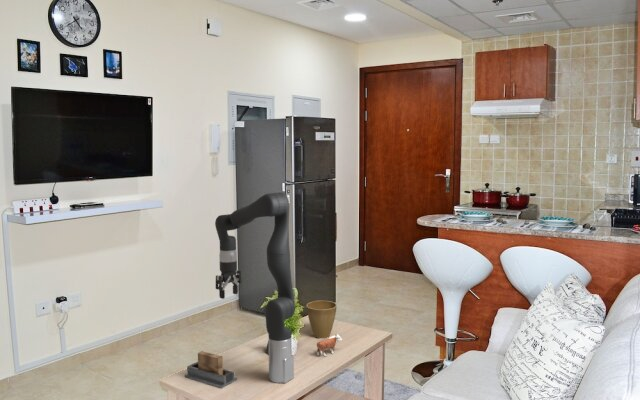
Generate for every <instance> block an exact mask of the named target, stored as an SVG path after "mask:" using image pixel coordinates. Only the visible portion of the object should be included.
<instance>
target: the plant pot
mask: <svg viewBox="0 0 640 400" xmlns="http://www.w3.org/2000/svg"><path fill="white" fill-rule="evenodd" d="M337 307H338V306H337V303H336V302H334V301H331V300H314V301H311V302H308V303H306V311H307V316H308V321H309V324H310V329H311V331H312V333H313V337H315V338H316V337H317V339H320V338H324V339H328V338H330V337H331V336H330V335H331V334H332V333H331V332H332V330H333V326H334V323H335V318H336V312H337ZM327 337H328V338H327Z"/></svg>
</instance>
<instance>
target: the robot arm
mask: <svg viewBox="0 0 640 400" xmlns="http://www.w3.org/2000/svg"><path fill="white" fill-rule="evenodd" d="M264 217H269V218H273V217H274V228H273V232H272V233H271V236H270V239H269V241H268V244H267V247H266V263H267V268H268V270H269V271H270V274H271V276H272V278H273V279H274V281H275V283H276V288H277V297H276V298H273V299H270V300H269V301H267V303H266V305H265V312H264V313H265V326H266V327H265V328H266V331H267V336H268V340H269V354H268V379H269V380H270V382H273V383H276V384H277V383H278V384H280V383H281V384H282V383H283V384H286V383H288V382H290V381H291V380H293V379H294V378H295V367H294V366H295V364H294V363H295V360H294V359H295V355H293V353H292V330H291V329H290V328H289V327H287V326H285V320H288V319H290V318H291V317H293V316H294V314H295V311H296V303H295V296H294V289H293V284H292V281H293V280H292V270H291V252H290V251H291V250H290V235H289V234H290V233H289V232H290V230H289V229H290V228H289V227H290V226H289V224H290V202H289V197H288V196H287V194H286V193H284V192H271V193H269V192H268V193H265V194H264V195H262V196H260V197H258V199H256V200H255V201H253V202H252V203H250V204H248V205H246V206H244V207H240V208H239V209H236V210H234V211H233V212H231V213H230V214H229V213H227V214H221V215H220V214H219V215H218V216H217V217H216V219H215V223H214V226H215V230H216V234H217V236H218V240H219V255H218V256H219V271H220V275H218V274H217V275H215V290H218V291H219V294H218V295H219V296H218V297H219V298H220V299H222V300H223V299H226V297H225V295H226V291H225V288H226V287H227V286H228V284H230V283H232V294H234V295H238V293H239V285H240V284H242V271H241V270H240V269H238V256H237V255H238V253H237V242H236V240H237V239H236V236H234V235H229V234H228V232H229V231H234V230H237V229H239V228H241V227H242V226H245V225H248V224H250V223H252V222H253V221H254V220H255V219H258V218H264Z"/></svg>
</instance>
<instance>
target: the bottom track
mask: <svg viewBox="0 0 640 400" xmlns="http://www.w3.org/2000/svg"><path fill="white" fill-rule="evenodd" d="M186 367H187V371H186V372H187V373H185V374H184V378H186V379H190V380H192V381H196V382H200V383H203V384H205V385H210V386H213V387H217V388H219V389H220V388H221V389H223V388H226V387H227V386H228V385H231V384H232V383H234V382H236V381H237V380H238V377H236V376H235V371H233V370H229V369H225V368H223V375H220V374H217V373H213V372H210V371H206V370H203V369H199V368H198V361H196V362H194V363H192V364H190V365H188V366H186Z"/></svg>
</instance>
